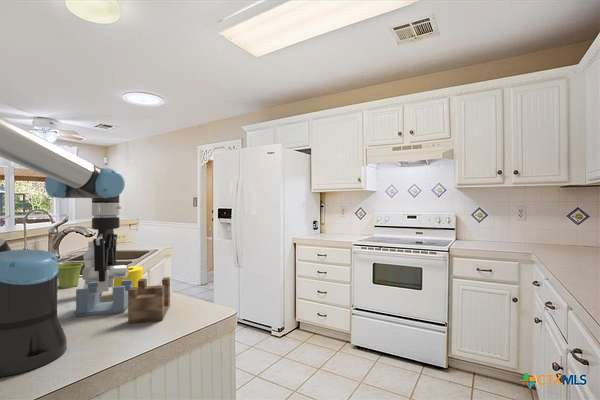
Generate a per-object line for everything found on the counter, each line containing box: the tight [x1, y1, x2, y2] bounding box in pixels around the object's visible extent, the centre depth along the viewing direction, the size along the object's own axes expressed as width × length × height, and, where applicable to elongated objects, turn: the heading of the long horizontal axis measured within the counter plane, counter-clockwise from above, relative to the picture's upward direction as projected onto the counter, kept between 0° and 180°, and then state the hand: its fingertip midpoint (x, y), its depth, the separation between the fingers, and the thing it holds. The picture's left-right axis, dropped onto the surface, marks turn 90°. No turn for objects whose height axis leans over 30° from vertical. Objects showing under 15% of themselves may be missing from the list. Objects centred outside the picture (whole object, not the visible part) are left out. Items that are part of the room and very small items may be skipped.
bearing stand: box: [127, 276, 171, 325], centre depth 93 cm, size 9×13×10 cm
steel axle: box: [81, 264, 130, 281], centre depth 97 cm, size 12×4×4 cm, turn 104°
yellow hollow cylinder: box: [114, 265, 144, 287], centre depth 113 cm, size 10×10×9 cm
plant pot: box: [57, 262, 84, 289], centre depth 124 cm, size 9×9×9 cm
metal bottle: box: [82, 240, 104, 295], centre depth 112 cm, size 6×7×20 cm
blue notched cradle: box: [75, 280, 132, 317], centre depth 97 cm, size 9×13×8 cm
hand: (106, 289), depth 97 cm, fingers closed on steel axle, 4 cm apart
